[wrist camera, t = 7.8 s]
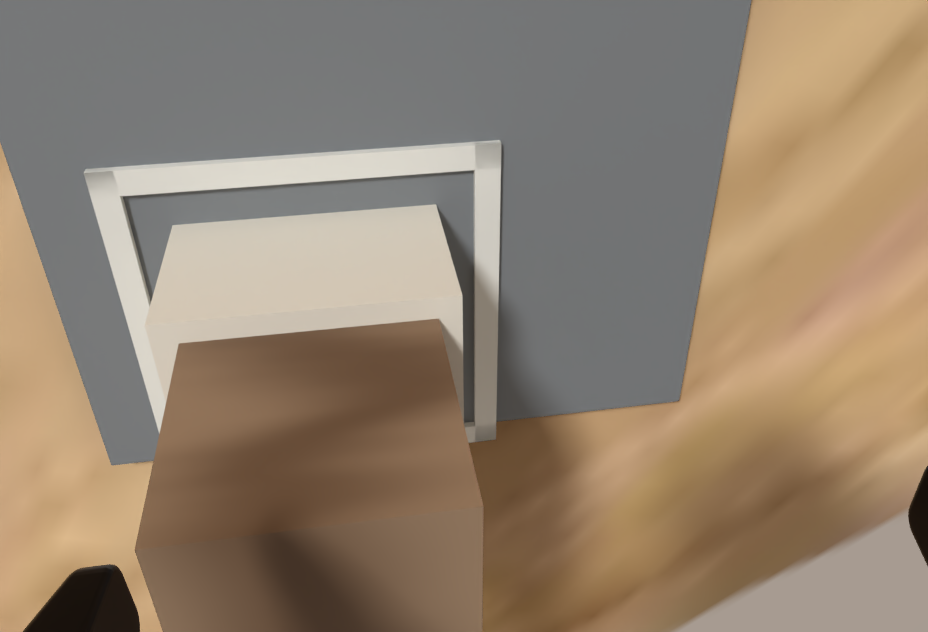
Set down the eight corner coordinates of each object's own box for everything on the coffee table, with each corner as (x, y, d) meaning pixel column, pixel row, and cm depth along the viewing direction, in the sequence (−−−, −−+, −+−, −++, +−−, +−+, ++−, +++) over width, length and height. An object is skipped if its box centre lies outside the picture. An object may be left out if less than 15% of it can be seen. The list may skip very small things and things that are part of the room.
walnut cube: (438, 318, 16) (483, 506, 12) (444, 495, 19) (482, 696, 15) (178, 343, 16) (134, 550, 12) (223, 522, 19) (201, 740, 14)
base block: (435, 204, 19) (462, 295, 16) (441, 400, 23) (464, 508, 20) (172, 225, 19) (144, 325, 15) (219, 424, 22) (204, 541, 19)
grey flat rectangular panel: (745, -40, 18) (762, -33, 17) (669, 401, 25) (679, 418, 24) (-38, -6, 16) (-52, 4, 15) (120, 463, 23) (114, 484, 22)
